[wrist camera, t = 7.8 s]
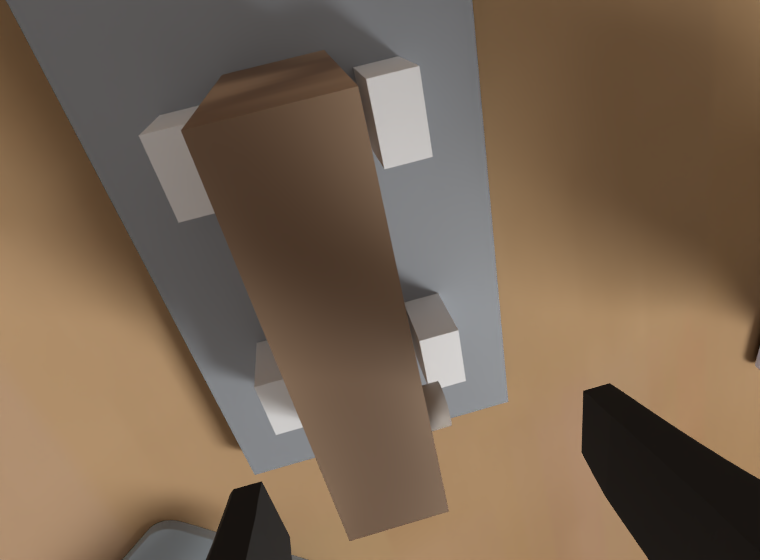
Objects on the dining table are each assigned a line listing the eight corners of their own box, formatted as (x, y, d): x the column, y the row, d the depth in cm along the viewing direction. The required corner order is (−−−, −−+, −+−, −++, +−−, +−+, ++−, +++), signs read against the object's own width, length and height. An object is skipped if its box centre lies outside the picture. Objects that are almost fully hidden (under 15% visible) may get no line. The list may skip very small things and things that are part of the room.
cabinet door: (350, 43, 14) (404, 74, 8) (417, 356, 20) (474, 503, 14) (222, 74, 14) (181, 130, 8) (328, 380, 20) (349, 541, 14)
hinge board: (444, -146, 13) (496, -190, 10) (498, 384, 24) (532, 443, 21) (3, -46, 13) (-86, -61, 10) (256, 453, 23) (252, 525, 20)
